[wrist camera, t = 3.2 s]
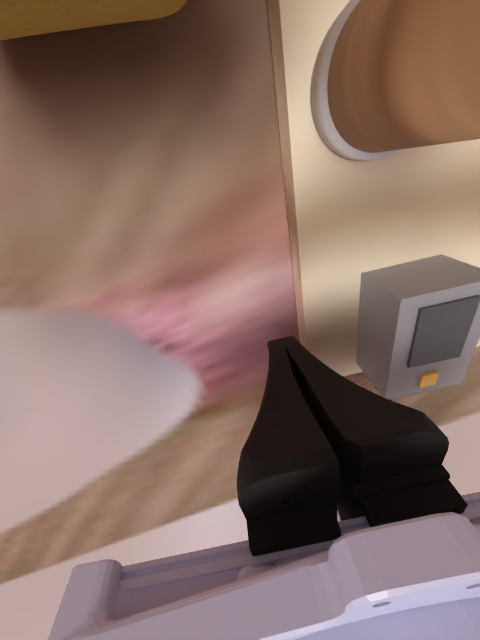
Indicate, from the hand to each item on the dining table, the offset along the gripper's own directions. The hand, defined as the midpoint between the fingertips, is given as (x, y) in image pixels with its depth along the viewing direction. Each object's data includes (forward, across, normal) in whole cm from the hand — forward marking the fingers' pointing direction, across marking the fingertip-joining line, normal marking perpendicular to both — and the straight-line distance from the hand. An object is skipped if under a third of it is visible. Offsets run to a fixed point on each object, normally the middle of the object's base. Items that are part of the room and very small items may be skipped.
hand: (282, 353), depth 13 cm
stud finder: (+1, -7, 0) cm, 7 cm away
